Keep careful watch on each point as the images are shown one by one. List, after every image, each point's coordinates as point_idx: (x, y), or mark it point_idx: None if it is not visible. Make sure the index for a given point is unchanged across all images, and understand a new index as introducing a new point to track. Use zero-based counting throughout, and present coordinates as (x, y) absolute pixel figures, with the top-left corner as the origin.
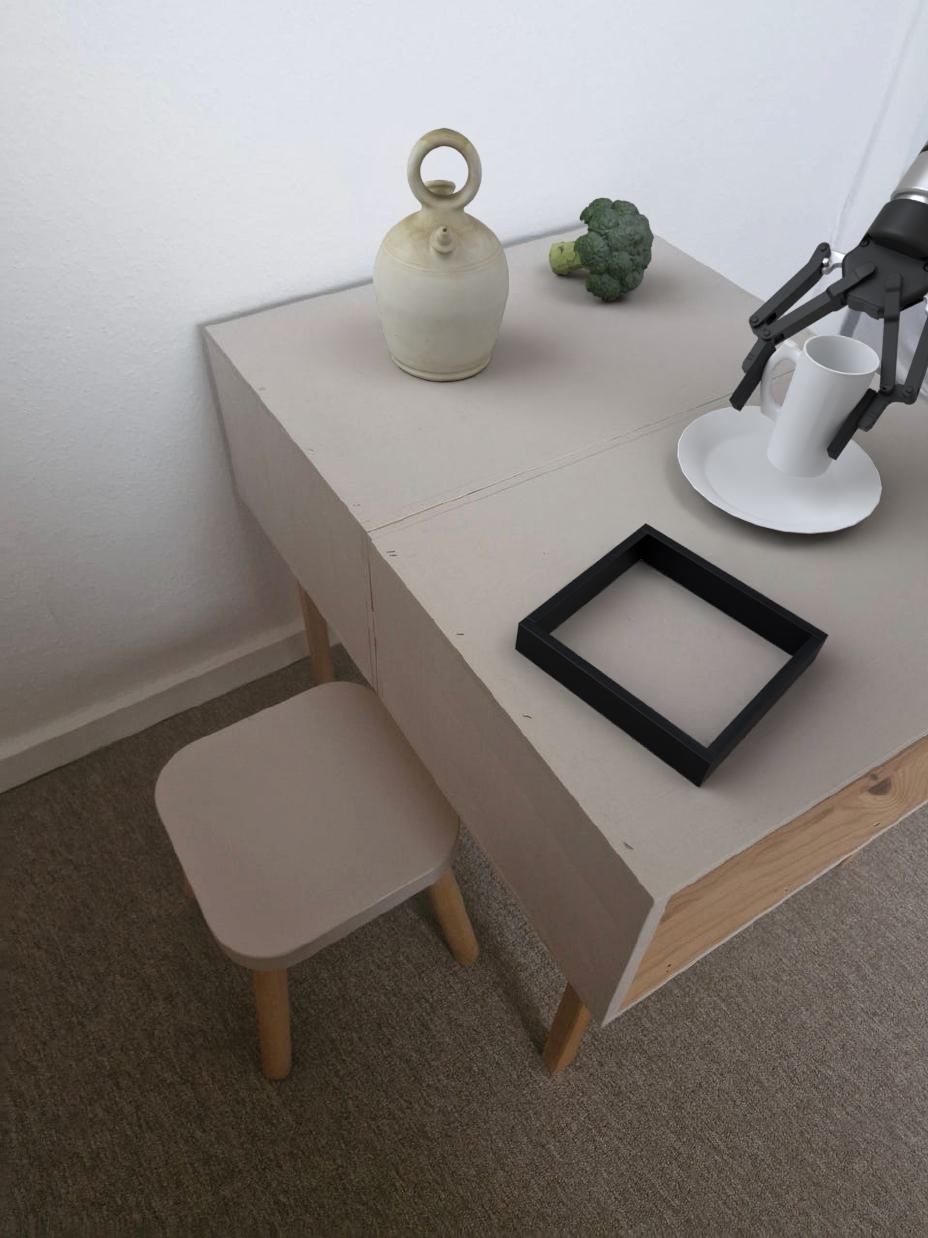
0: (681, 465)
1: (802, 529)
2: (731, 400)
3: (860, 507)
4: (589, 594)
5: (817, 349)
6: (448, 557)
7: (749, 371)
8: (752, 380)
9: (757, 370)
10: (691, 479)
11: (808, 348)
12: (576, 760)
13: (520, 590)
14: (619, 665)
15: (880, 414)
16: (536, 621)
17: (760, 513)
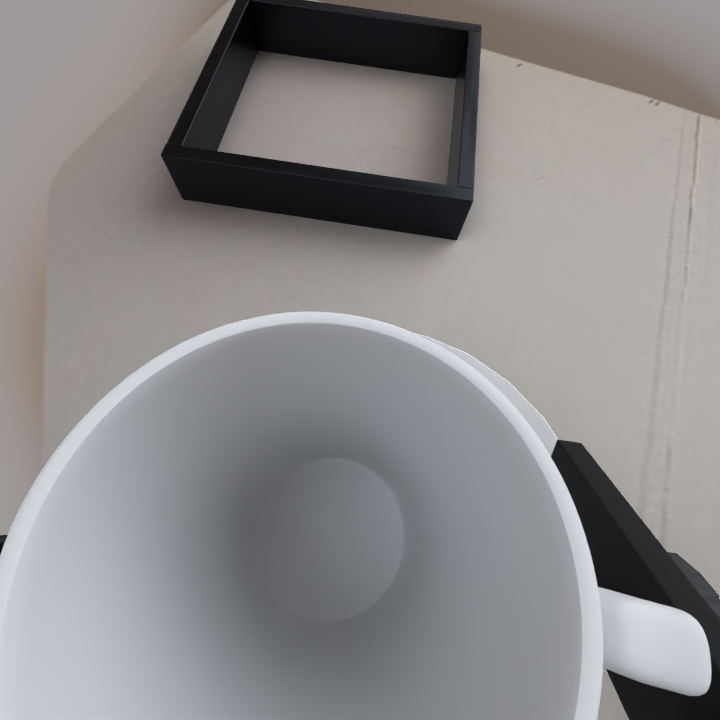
0: (521, 395)
1: None
2: (572, 442)
3: None
4: (454, 129)
5: (493, 715)
6: (611, 124)
7: (635, 521)
8: (592, 518)
9: (619, 537)
10: (483, 373)
11: (537, 605)
12: None
13: (518, 125)
14: (374, 101)
15: None
16: (468, 32)
17: None
